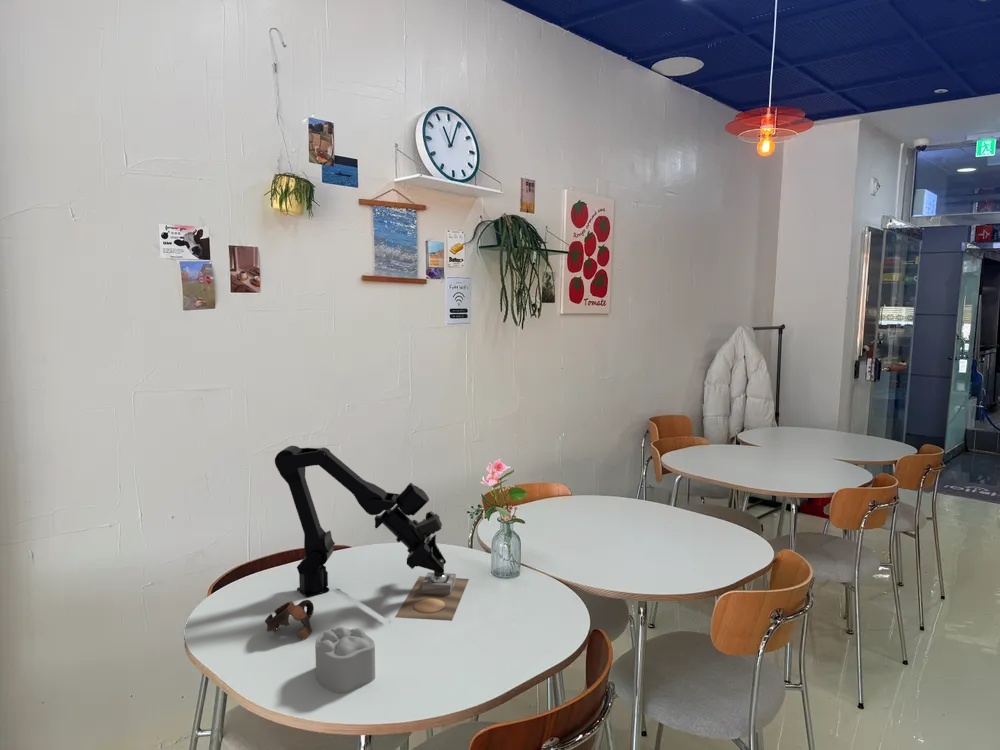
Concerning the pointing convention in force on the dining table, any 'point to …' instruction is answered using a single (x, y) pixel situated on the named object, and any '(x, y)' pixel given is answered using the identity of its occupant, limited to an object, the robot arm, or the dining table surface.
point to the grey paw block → (344, 659)
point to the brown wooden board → (433, 598)
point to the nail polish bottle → (439, 574)
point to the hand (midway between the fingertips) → (444, 567)
